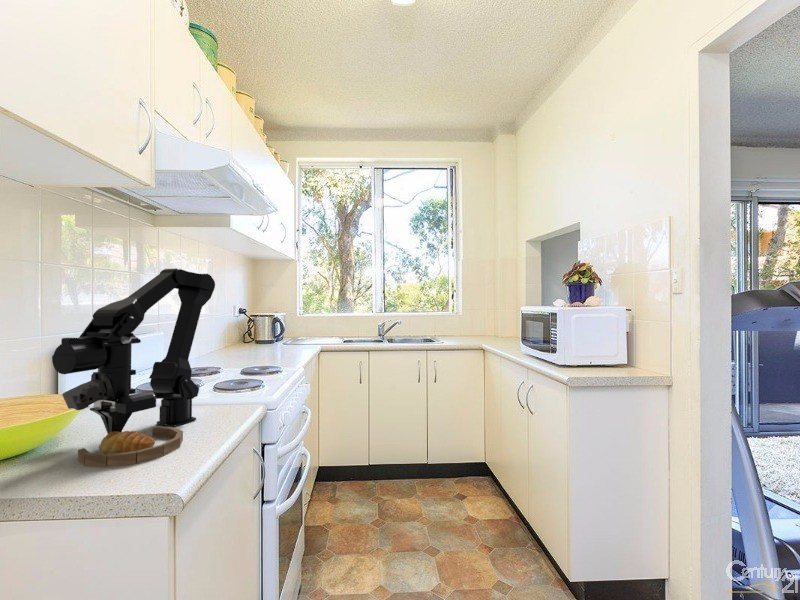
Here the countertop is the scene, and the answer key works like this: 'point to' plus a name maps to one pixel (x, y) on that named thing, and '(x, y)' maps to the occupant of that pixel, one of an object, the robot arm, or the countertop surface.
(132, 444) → the pastry
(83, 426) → the countertop surface
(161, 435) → the walnut open arc
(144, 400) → the robot arm
